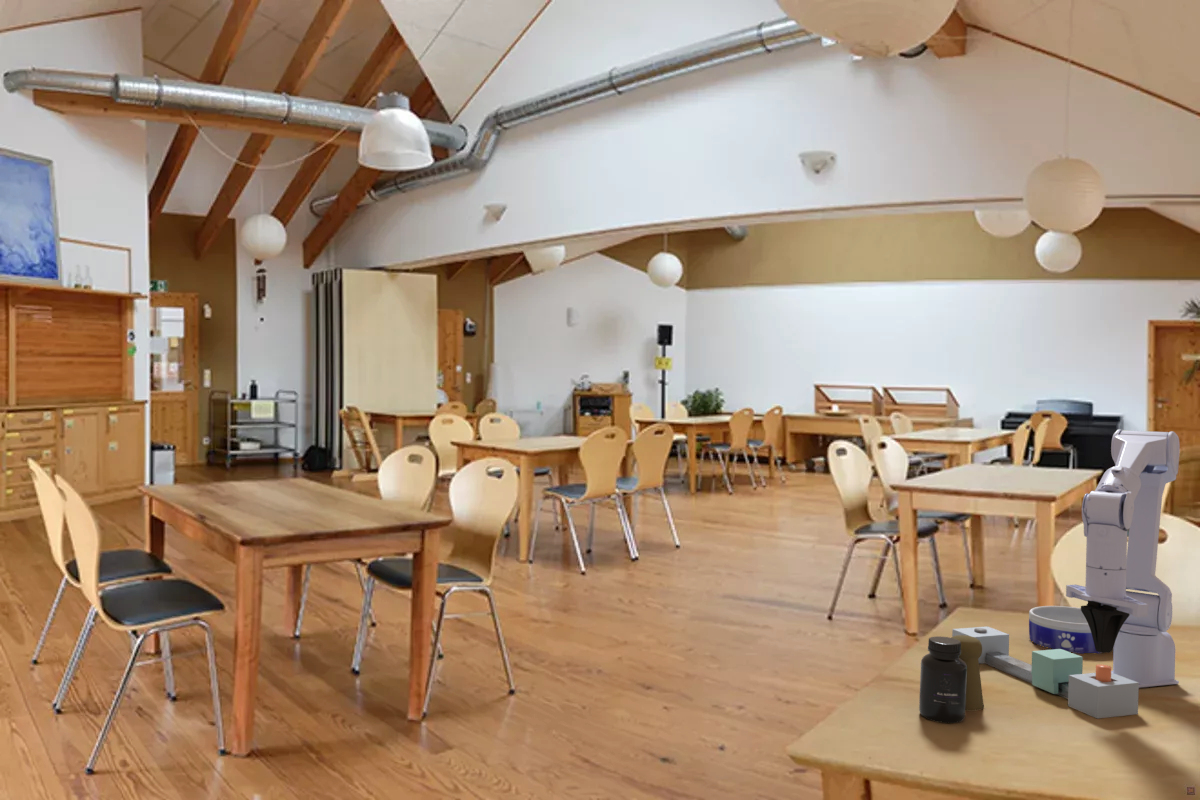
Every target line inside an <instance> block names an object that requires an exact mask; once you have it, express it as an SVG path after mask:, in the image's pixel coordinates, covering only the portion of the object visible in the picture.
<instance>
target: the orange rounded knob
mask: <svg viewBox="0 0 1200 800" xmlns="http://www.w3.org/2000/svg"><path fill="white" fill-rule="evenodd" d="M1111 671H1112V666H1111V665H1108V664H1100V663H1099V664H1096V665H1095V673H1096V680H1098V681H1101V682H1111Z"/></svg>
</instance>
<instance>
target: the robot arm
mask: <svg viewBox="0 0 1200 800" xmlns="http://www.w3.org/2000/svg"><path fill="white" fill-rule="evenodd" d="M1180 444H1181V443H1180V438H1179V436H1178V434H1177V433H1176V432H1175V431H1171V430H1170V431H1169V432H1168V431H1152V430H1151V431H1148V430H1147V431H1146V430H1126V429H1125V430H1124V429H1123V428H1122V429H1120V428H1118V429H1117V430H1116V431H1115V432H1114V433H1113V435H1112V438H1111V447H1110V449H1111V450H1110V452H1111V453H1110V454H1111V457H1112V460H1113V462H1114V466H1112V467H1110V468H1108V469H1106V471H1105V472H1104V473H1103V475H1102V476H1101V479H1100V481H1099V482H1098V484H1097V486H1096V488H1095V490H1091V491H1090V493H1085V494H1084V496H1083V499H1082V503H1081V518H1082V523H1083V536H1084V537H1086V548H1085V550H1086V551H1085V586H1083V585H1079V584H1066V586H1065V587H1066V588H1065V597H1067V598H1071V599H1072V598H1074V599H1077V600H1081V601H1085V602H1087V603H1086V605H1080V608H1081V611H1082V613H1083V615H1084V616H1085V618H1086V620H1087V622H1088V625H1089V627H1090V630H1091V633H1092V637H1093V641H1094V645H1095V649H1096V651H1098V652H1101V653H1100V654H1107V653H1112V652H1113V653H1112V654H1113V655H1112V656H1113V658H1112V661H1113V662H1112V663H1113V664H1112V670H1111V673H1114V674H1117V675H1119V676H1122V677H1125V678H1128V679H1130V680H1133V681H1136V682H1138V683H1139V689H1141V688H1149V687H1150V688H1151V687H1157V686H1159V687H1160V686H1168V685H1178V684H1179V680H1177V679H1175V678H1176V677H1175V676H1176V675H1175V674H1176V643H1175V641H1174V639H1173V637H1172V635H1171V634H1170V633H1169V632H1168V630H1169V629H1170V628H1171V625H1172V619H1173V603H1172V601H1173V599H1172V597H1173V593H1172V591H1171V589H1170V587H1169V586H1168V585H1167V584H1166V583H1165V582H1164V581H1162V580H1161V579H1160V578H1158V577H1157V576H1156V571H1157V569H1156V568H1157V559H1158V547H1159V537H1160V525H1161V514H1162V503H1163V502H1162V501H1163V494H1164V491H1165V488H1166V485H1167V484H1168V483H1172V482H1174V481H1176V480H1177V475H1178V474H1179V464H1180V451H1181V450H1180V449H1181V447H1180ZM1130 590H1131V591H1130ZM1138 591H1139V592H1138ZM1143 592H1146V593H1143ZM1151 593H1154V594H1151Z"/></svg>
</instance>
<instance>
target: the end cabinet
mask: <svg viewBox="0 0 1200 800" xmlns="http://www.w3.org/2000/svg"><path fill="white" fill-rule="evenodd" d="M1139 689H1140V688H1139V683H1138V682H1136V681H1133V680H1130V679H1128V678H1125V677H1122V676H1119V675H1117V674H1114V673H1111V682H1101V681H1098V680H1096V672H1087V673H1082V674H1076V675H1069V684H1068V699H1067V706H1068V707H1070V708H1071V709H1075V710H1076V711H1079V712H1081V713H1084V714H1086V715H1087V716H1090V717H1093V718H1095V719H1104V718H1114V717H1124V716H1133V715H1138V714H1139V692H1140V691H1139Z"/></svg>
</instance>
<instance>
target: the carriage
mask: <svg viewBox="0 0 1200 800" xmlns="http://www.w3.org/2000/svg"><path fill="white" fill-rule="evenodd" d="M1083 657H1084V656H1081V655H1079V654H1077V653H1071V652H1068V651H1065V650H1062V649H1045V650H1044V649H1043V650H1042V649H1041V650H1033V651H1032V650H1031V665H1032V670H1031V674H1032V683H1031V685H1032V686H1034V687H1036V688H1039V689H1041V690H1044V691H1045V692H1048V693H1051V694H1053V695H1057V694H1058V683H1062V682H1069V675H1076V674H1083V667H1084V666H1083V665H1084V663H1083V662H1084V660H1083V659H1084V658H1083Z"/></svg>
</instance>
